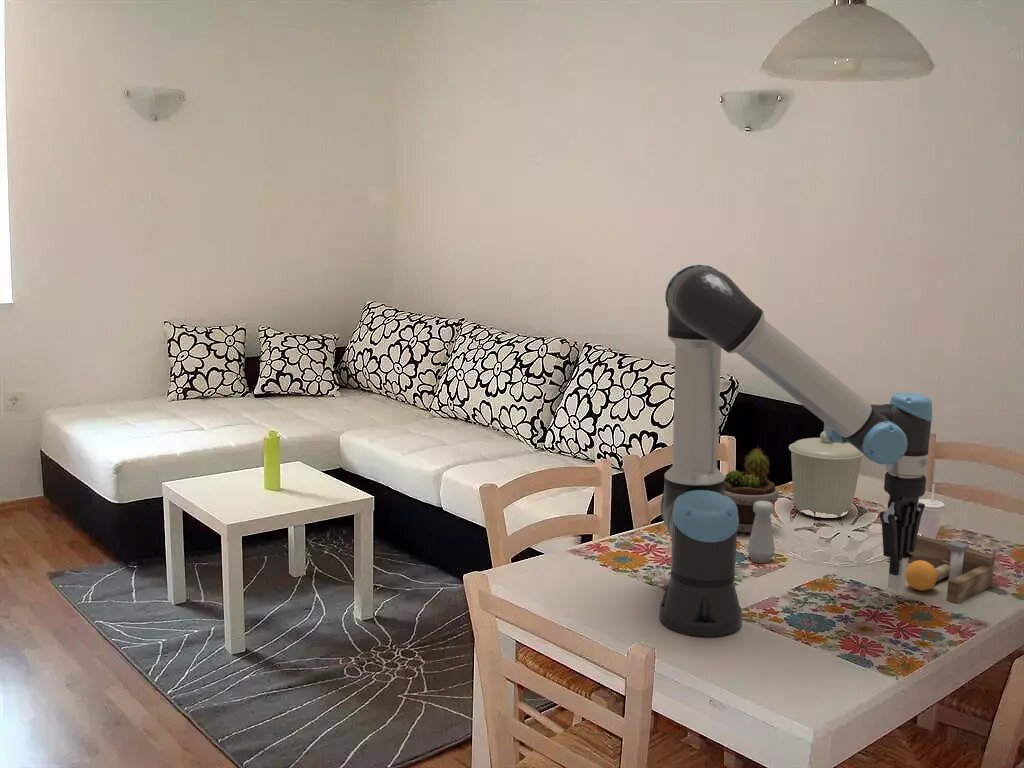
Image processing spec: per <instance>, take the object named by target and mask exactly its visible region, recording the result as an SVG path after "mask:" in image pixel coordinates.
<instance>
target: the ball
mask: <svg viewBox="0 0 1024 768" xmlns="http://www.w3.org/2000/svg"><path fill="white" fill-rule="evenodd" d="M936 580H937V573H936V570H935V568H934V567H933V566H932V565H931V564H930V563H928V562H926V561H922V560H918V561H914V562H912V563H908V566H906V575H905V582H906V583H907V584H908V585H909V586H910V587H911V588H912V589H914V590H917V591H920V592H921V591H927V590H930V589H932V588H933V587H934V585H936V583H937V581H936Z"/></svg>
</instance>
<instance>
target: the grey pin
mask: <svg viewBox="0 0 1024 768" xmlns="http://www.w3.org/2000/svg"><path fill="white" fill-rule="evenodd" d="M947 543H948V545H947V549H951V559H950V570H949V577H948V580H947V581H949V580H952V579H954V578H956V577H958V576H960V575H962V568H963V558H964V551H966V550H968V549H970V544H968V543H966V542H965V543H964V542H961V541H957V540H952V541H950V542H947Z"/></svg>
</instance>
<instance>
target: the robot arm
mask: <svg viewBox="0 0 1024 768" xmlns="http://www.w3.org/2000/svg"><path fill="white" fill-rule="evenodd" d="M664 299H665V303H666V304H665V305H666V307H667V312H668V313H667V338H668V339H669V340H670V341H671V342H672V343H673V344H674V346H675V347H674V348H675V350H674V351H675V355H674V358H675V359H674V388H673V389H674V394H673V397H674V398H673V431H672V432H673V435H672V438H673V439H672V465H671V467H670V468H669V469H668V470H667V471H666V472H664V484H663V485H664V486H663V493H662V496H661V499H660V500H661V501H660V514H661V519H662V521H663V523H664V524H665V526H666V528H667V531H668V534H669V536H670V539H671V557H670V558H671V559H670V579H669V582H668V584H667V586H666V589H665V592H664V594H663V595H662V596H663V597H662V599H661V601H660V605H659V617H658V618H659V620H660V621H659V622H661V623H662V624H663V625H664V626H665V627H667V628H668V629H670V630H672V631H675V632H677V633H680V632H681V634H684V635H688V634H689V636H693V637H694V636H695V637H703V636H706V637H707V638H708V636H709V637H710V638H711V636H714V637H722V636H721V635H723V636H727V634H728V635H730V633H731V634H734V633H736V632H738V631H739V630H740V629H741V627H742V625H743V611H742V608H741V606H740V602H739V601H740V600H739V597H738V592H737V589H736V585H735V575H736V574H735V573H736V559H737V557H736V556H737V541H738V535H737V528H738V524H739V517H738V509H737V506H736V504H735V502H734V501H733V500H732V499H731V498H729V497H728V496H725V495H724V489H725V478H726V475H725V474H724V473H722V472H721V470H720V469H719V468H718V457H719V456H718V452H719V451H718V450H719V425H720V424H719V423H720V422H719V421H720V394H721V391H720V390H721V388H720V387H721V367H722V365H721V364H722V363H721V359H722V349H723V350H724V351H725V352H726V353H728V354H735V353H736V354H738V355H739V356H740V357H742V358H743V359H744V360H745V361H746V362H748V363H749V364H751V366H752V367H754V368H756V369H757V370H758V371H760V372H761V373H762V374H763V375H764V376H765V377H767V378H768V379H769V380H770V381H772V382H773V383H774V384H776V385H777V386H778V387H779V388H780V389H782V390H783V391H785V392H786V393H787V394H788V395H789V396H791V397H792V398H793V399H794V400H796V401H797V402H798V403H799V404H801V405H802V406H803V407H804V408H806V409H807V410H808V411H810V412H811V413H812V414H813V415H814V416H815V417H817V418H818V419H819V420H821V421H822V422H823V423H824V431H825V433H826V436H827V438H828V440H829V441H831V442H836V443H842V444H844V443H851V444H852V445H853V446H854V447H856V448H857V449H858V450H859V451H861V452H862V453H863V454H864V457H866V458H867V459H868V460H870V461H871V462H874V463H876V464H879V465H882V466H883V465H885V470H886V472H885V473H884V481H883V482H884V483H883V490H884V492H886V493H887V494H888V495H889V498H888V499H889V500H888V502H887V510H886V511H885V512H884V511H881V512H880V513H879V519H880V523H881V534H882V552H883V556H884V557H887V558H889V564H888V565H889V567H888V578H887V579H888V580H887V589H890V590H892V591H893V590H894V591H897V592H900V593H902V592H903V591H905V586H906V578H905V575H906V569H907V563H908V558H910V559H911V558H912V557H913V555H911V554H910V552H914V549H915V544H916V539H917V534H918V530H919V525H920V520H921V515H922V513H923V510H924V508H925V504H922V503H919V502H918V500H919V498H920V497H922V496H924V495H925V494H926V485H927V477H926V476H925V475H926V474H927V471H928V466H929V464H930V462H929V460H928V458H929V448H930V438H931V431H932V430H931V429H932V422H933V401H932V400H931V398H930V397H929V396H926V394H925V395H924V394H921V393H916V392H915V393H914V392H901V393H900V392H896V393H894V394H892V395H891V397H890V401H889V403H884V404H875V403H874V404H871V403H869V402H867V401H866V400H865V399H864V398H862V397H861V396H860V395H858V393H856V392H855V391H854V390H853V389H851V387H849V386H847V384H845V383H844V382H843V381H841V379H839V378H838V377H836V376H835V374H833V373H832V372H830V370H828V369H827V368H825V367H824V366H823V365H821V364H820V363H819V362H818V361H816V360H815V359H814V358H813V357H812V356H811V355H809V354H808V353H807V352H806V351H804V350H803V349H802V348H800V346H798V345H797V344H795V342H793V341H792V340H791V339H789V338H788V337H787V336H786V335H784V334H783V333H782V332H781V331H780V330H778V329H777V328H776V327H774V326H773V325H772V324H771V323H770V322H768V321H767V320H766V318H765V311H764V310H763V309H761V308H760V307H759V306H758V305H757V304H756V303H754V302H753V301H752V300H751V299H750V298H749V297H748V296H747V295H746V294H745V293H744V292H743V291H742V290H741V289H740V287H738V285H737V284H736V283H735V282H734V281H733V280H732V279H731V278H730V276H728V275H727V274H725V273H724V272H722V271H719V270H718V269H716V268H715V267H712V266H711V265H703V264H696V265H695V264H693V265H689V266H686V267H683V268H682V269H680V270H678V271H677V272H676V273H675V274H674V275H673V276H672V277H671V278H670V280H669V282H668V285H667V286H666V289H665V296H664ZM918 497H919V498H918ZM738 629H739V630H738ZM735 631H736V632H735ZM733 632H734V633H733ZM706 637H705V638H706Z"/></svg>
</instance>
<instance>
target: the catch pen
mask: <svg viewBox="0 0 1024 768" xmlns="http://www.w3.org/2000/svg"><path fill="white" fill-rule="evenodd" d="M948 543H949V542H946V541H943V540H939V539H938V540H937V539H936V540H935V539H931V538H927V537H924V536H920V535H917V539H916V544H915V549H914V552H910V554H911V555H913V557H912V558H911V559H910V558H907V563H908V564H911V563H912V562H914V561H918V560H922V561H926V562H928V563H930V564H931V565H932V566H933V567H934V568H937V567H939V566H940V561H941V560H945V561H949V562H950V559H951V549H947V545H948ZM995 560H996V555H992V554H989V553H985V552H982V551H978V550H974V549H971V548H969V549H968V550H966V551H964V558H963V568H962V575H960V576H958V577H956V578H954V579H952V580H949V579H948V580H949V581H948V580H947V581H948V583H947V593H946V601H948V602H951V603H954V604H958V603H960V602H962V601H965V600H966V599H969V598H970V597H972V596H974V595H977V594H978V593H981V592H982V591H984V590H987V589H989V588H990V587H991V585H992V584H993V581H994V580H993V579H994V569H995Z"/></svg>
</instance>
